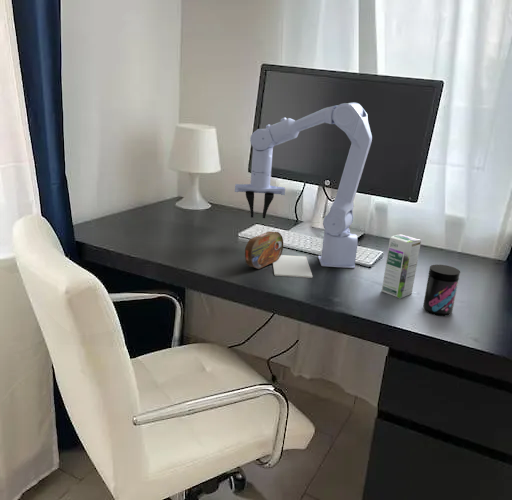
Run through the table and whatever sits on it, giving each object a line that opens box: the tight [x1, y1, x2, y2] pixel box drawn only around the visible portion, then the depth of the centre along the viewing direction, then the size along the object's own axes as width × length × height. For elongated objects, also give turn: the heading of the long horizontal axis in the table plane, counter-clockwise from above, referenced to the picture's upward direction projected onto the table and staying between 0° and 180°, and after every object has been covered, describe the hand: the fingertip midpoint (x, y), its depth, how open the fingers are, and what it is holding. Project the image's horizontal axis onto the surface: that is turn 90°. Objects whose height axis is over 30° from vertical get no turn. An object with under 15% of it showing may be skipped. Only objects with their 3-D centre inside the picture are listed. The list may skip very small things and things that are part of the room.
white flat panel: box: [272, 254, 313, 279], centre depth 153 cm, size 10×16×1 cm, turn 1°
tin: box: [244, 231, 284, 270], centre depth 151 cm, size 15×3×8 cm, turn 143°
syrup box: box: [381, 234, 422, 300], centre depth 137 cm, size 6×6×14 cm
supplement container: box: [422, 264, 461, 317], centre depth 129 cm, size 7×7×10 cm
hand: (257, 217), depth 164 cm, fingers open, 3 cm apart
